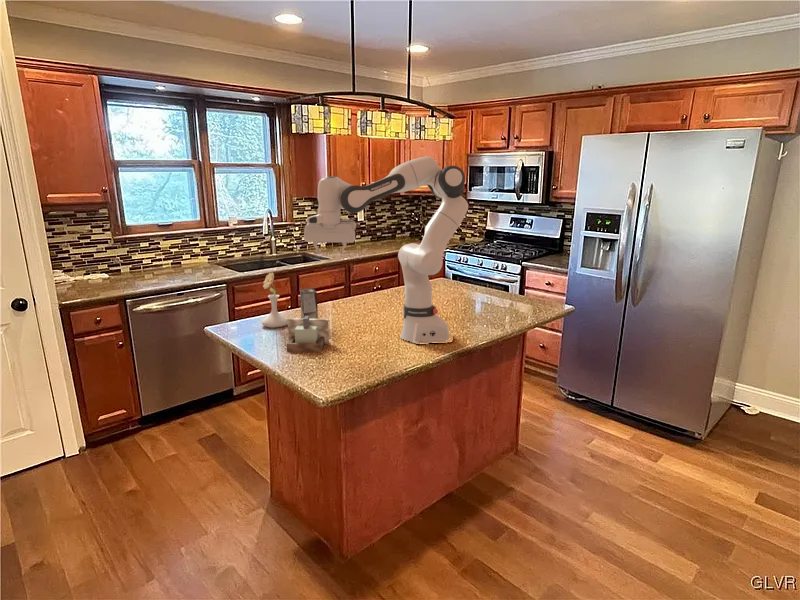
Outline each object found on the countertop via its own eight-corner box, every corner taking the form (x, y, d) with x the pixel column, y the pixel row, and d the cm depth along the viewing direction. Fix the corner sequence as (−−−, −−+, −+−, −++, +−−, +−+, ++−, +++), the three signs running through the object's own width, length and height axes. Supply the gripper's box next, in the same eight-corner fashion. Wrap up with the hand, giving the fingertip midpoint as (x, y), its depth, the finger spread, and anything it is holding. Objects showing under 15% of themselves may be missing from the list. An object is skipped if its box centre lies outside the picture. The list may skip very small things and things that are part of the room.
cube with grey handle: (318, 344, 190) (317, 315, 187) (315, 349, 184) (315, 319, 181) (298, 343, 190) (297, 315, 187) (295, 348, 184) (294, 319, 181)
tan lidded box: (328, 342, 192) (328, 318, 189) (324, 352, 181) (324, 327, 179) (289, 341, 192) (288, 318, 189) (283, 351, 181) (281, 326, 179)
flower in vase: (262, 322, 216) (259, 268, 210) (288, 321, 218) (286, 268, 212) (260, 331, 204) (257, 274, 197) (287, 330, 206) (285, 273, 200)
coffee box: (318, 327, 210) (317, 292, 206) (304, 329, 208) (302, 293, 204) (314, 322, 218) (313, 288, 214) (300, 323, 216) (299, 289, 212)
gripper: (356, 218, 190) (356, 252, 193) (305, 217, 190) (306, 251, 193) (354, 219, 184) (355, 255, 187) (302, 218, 184) (303, 254, 187)
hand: (330, 253), depth 190 cm, fingers open, 8 cm apart
